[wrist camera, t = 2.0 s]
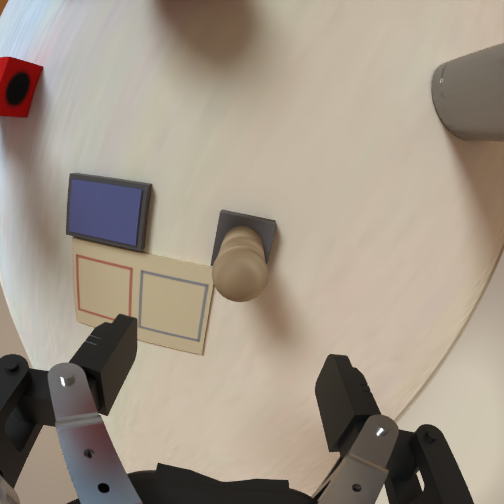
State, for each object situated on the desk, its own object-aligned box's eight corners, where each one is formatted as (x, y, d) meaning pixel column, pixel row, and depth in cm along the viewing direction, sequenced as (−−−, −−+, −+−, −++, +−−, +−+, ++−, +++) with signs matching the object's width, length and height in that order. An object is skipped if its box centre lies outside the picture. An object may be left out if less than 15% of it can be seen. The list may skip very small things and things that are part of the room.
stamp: (275, 220, 27) (288, 255, 18) (263, 270, 29) (268, 325, 19) (221, 209, 27) (205, 239, 17) (212, 260, 29) (194, 311, 19)
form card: (216, 268, 29) (216, 269, 28) (202, 353, 32) (201, 354, 32) (74, 237, 28) (72, 238, 27) (77, 319, 31) (76, 321, 31)
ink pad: (151, 183, 26) (147, 185, 25) (143, 248, 28) (139, 251, 27) (74, 172, 26) (68, 173, 24) (71, 231, 28) (65, 234, 26)
